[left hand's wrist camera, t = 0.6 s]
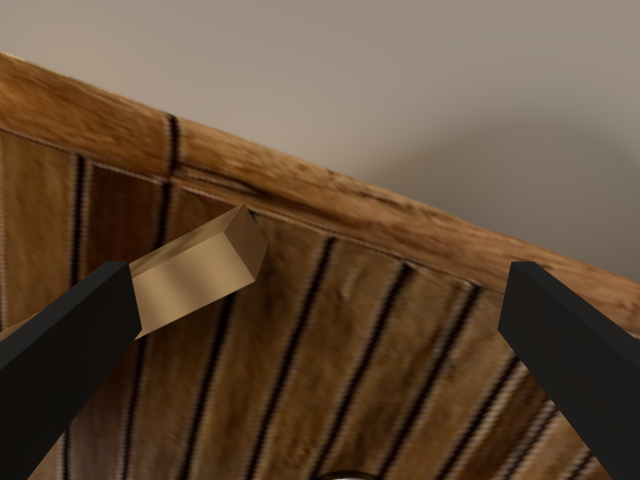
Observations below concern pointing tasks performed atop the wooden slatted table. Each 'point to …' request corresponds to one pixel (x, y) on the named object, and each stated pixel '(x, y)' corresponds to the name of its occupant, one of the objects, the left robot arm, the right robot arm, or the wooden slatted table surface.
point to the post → (194, 269)
